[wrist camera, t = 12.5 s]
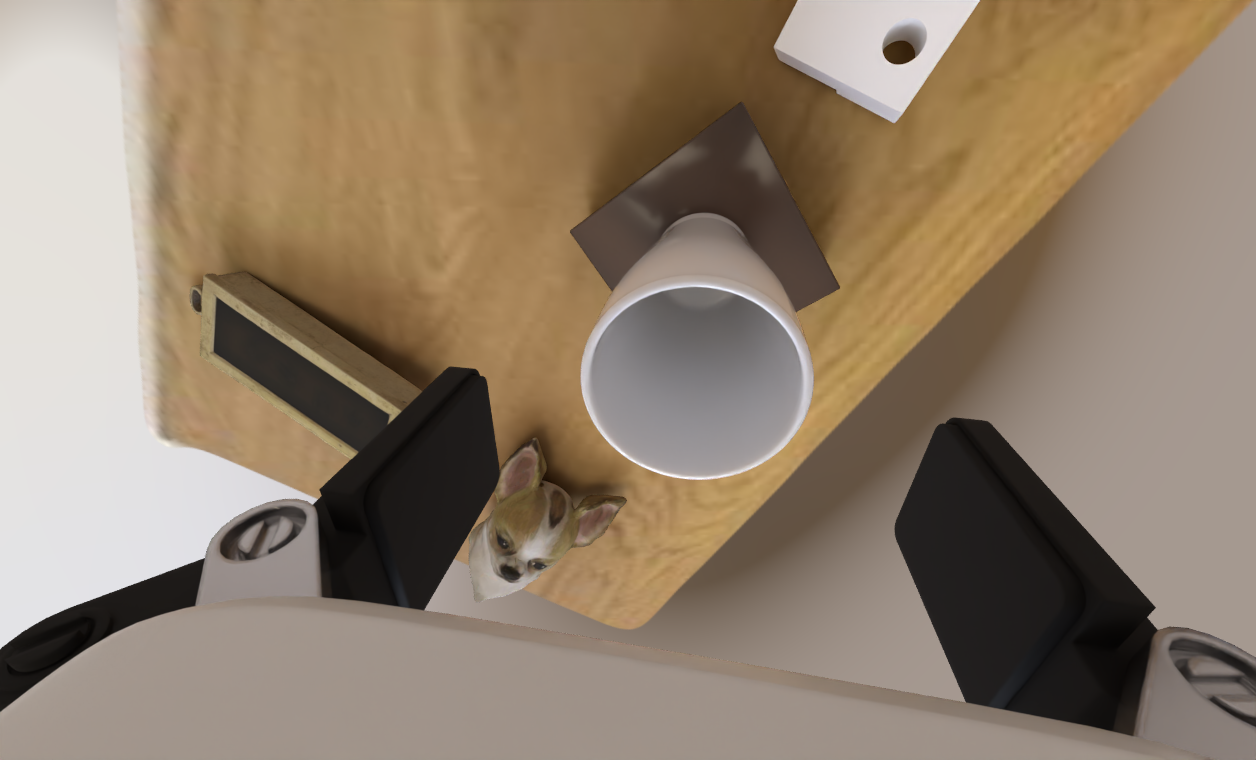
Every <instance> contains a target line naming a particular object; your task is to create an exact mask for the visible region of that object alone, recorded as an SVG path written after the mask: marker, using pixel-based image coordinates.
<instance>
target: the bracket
mask: <svg viewBox="0 0 1256 760" xmlns="http://www.w3.org/2000/svg"><path fill="white" fill-rule="evenodd" d="M979 1H980V0H798V1H797V3H796V5H795V7H794V9H793V11H792V13H791V14H790V16H789V18H788V20H787V22H786V24H785V26H784V28H783V30H782V32H781V34H780V36H779V38H778V39H777V41H776V43H775V45H774V49H775V52H776V54H777V57H778V59H779V60H780V61H782V62H784V63H786V64H787V65H789V66H791V67H793V68H795V69H797V70H799V71H801V72H803V73H805V74H807V75H809V76H811V77H813V78H814V79H816V80H818V81H820V82H822V83H824V84H826V85H828V86H830V87H832V88H834V89H836V93H837V94H839V95H841V96H843V97H845V98H847V99H848V100H850V101H852V102H854V103H856V104H858V105H860V106H862V107H864V108H866V109H868V110H870V111H872V112H873V113H875V114H877V115H879V116H881V117H883V118H885V119H887V120H889V121H891V122H893V123H895V122H896V121H897V120H898V119H899V118H900V116H901V115H902V114H903V113H904V111H905V110H906V108H907V107H908V105H909V104H910V102H911V101H912V99H913V98H914V96H915V95H916V93H917V92H918V91H919V89H920V88H921V86H922V85H923V83H924V82H925V80H926V79H927V77H928V76H929V74H930V73H931V72H932V70H933V69H934V67H935V66H936V64H937V63H938V61H939V60H940V58H941V57H942V55H943V54H944V52H945V51H946V50H947V48H948V47H949V45H950V44H951V42H952V41H953V39H954V38H955V36H956V35H957V33H958V32H959V31H960V29H961V28H962V26H963V25H964V23H965V22H966V20H967V19H968V17H969V16H970V14H971V13H972V11H973V10H974V9H975V7H976V6H977V4H978V3H979ZM895 41H907V42H909V43H910V44H911V45H912V46H913V48H914V50H915V59H913V60H912V61H910V62H908V63H905V64H901V65H896V64H892V63H890V62H888V61H887V60H886V59H885V57H884V55H883V51H882V50H883V49H884V48H885V47H886V46H887V45H889V44H890V43H892V42H895Z"/></svg>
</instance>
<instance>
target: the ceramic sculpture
mask: <svg viewBox="0 0 1256 760" xmlns="http://www.w3.org/2000/svg"><path fill="white" fill-rule="evenodd" d="M546 466H547V465H546V462H545V459H544V456H543V453H542V450H541V448H540V444H539V441H538V438H536V437H535V438H533V439H531V440H530V441H529V442H527V443H525V444H523V445H522V446H521V447H520V448H518V449H517V450H516V451H515V453H514V454H512V455H511V456H510V458H509V459H508V460H507V461H506V462H505V463H504V464H503V465H502V467H501V470H500V475H499V481H498V484H497V486H496V488H495V494H496V498H497V505H496V508H495V509H494V510H493V511H492V513H491V514H490V516H489V517H488V518H487V519H486V520H485V521H484V522H482V523H480V524H479V525H478V526H477V527H476V528H475V529H473V531H472V532H471V534H470V536H469V543H470V546H469V567H470V575H471V580H472V585H473V589H474V599H475V601H476V602H481V601H484V600H486V599H489V598H496V597H501V596H507V595H508V594H510V593H513V592H516V591H518V590H521V589H522V588H524V587H525V586H526V585H528V584H529V583H530V582H531V581H534V580H536V579H537V578H538V577H539V576H540V574H541V573H542V572H544V571H546V570H548V569H550V568H551V567H553V566H554V565H555V564H556V563H557V562H558V561H559V560H560V559H561V558H562V557H563V556H564V555H565V554H566V552H567V551H568V550H570V549H571V548H576V547H584V546H588V545H591V544H592V543H593V541H594V540H595V539H597V538H599V537H601V536H602V535H603V534H604V533H605V531H606V530H607V528H608V526H609V524H611V522H612V521H613V519H614V518H615V516H616V514H617V513H618V511H619V509H620V508H621V507H622V506H623V505H624V504H625V503H626V501H627V500H626V498H624V497H620V496H609V495H590V496H587V497H586V498H585V499H583V500H582V502H581V503H580V504H579V506H578V507H577V508H576V509H574V506H573V501H572V499H571V497H570V496H569V495H568V494H567V493H566V492H565V491H564V490H563V489H562V488H560V487H559V486H557V485H555V484H552V483H549V482H547V481H542V478H543V476H544V474H545V472H546Z"/></svg>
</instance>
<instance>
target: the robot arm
mask: <svg viewBox="0 0 1256 760" xmlns="http://www.w3.org/2000/svg"><path fill="white" fill-rule="evenodd" d="M499 475H500V470H499V462H498V455H497V448H496V442H495V435H494V428H493V421H492V414H491V407H490V400H489V393H488V386H487V381H486V379H485V377H484V376H480V374H479V372H478V371H477V370H476V369H470V368H460V367H448V368H447V369H446V370H445V371H444V372H443V373H441V374H440V375H439V376H438V377H437V378H436V379H435V380H434V381H433V382H432V383H431V384H430V385H429V386H428V387H427V388H426V389H425V390H424V391H423V392H422V393H420V394H419V395H418V396H417V397H416V398H415V399H414V400H413V401H412V402H411V403H410V404H409V405H408V406H407V407H406V408H405V409H404V410H403V411H402V412H400V413H399V414H398V415H397V416H396V417H395V418H394V419H393V420H392V421H391V422H390V423H389V424H388V425H387V426H386V427H385V428H384V429H383V430H382V431H380V432H379V433H378V434H377V435H376V436H375V437H374V438H373V439H372V440H371V441H370V442H369V443H368V444H367V445H366V446H365V447H364V448H363V449H362V450H361V451H359V452H358V453H357V454H356V455H355V456H354V457H353V458H352V459H351V460H350V461H349V462H348V463H347V464H346V465H345V466H344V467H343V468H342V469H341V470H339V471H338V472H337V473H336V474H335V475H334V476H333V477H332V478H331V479H330V480H329V481H328V482H327V483H326V484H325V485H324V486H323V487H322V488H321V489H320V492H321V495H322V496H321V497H320V498H319V499H318V500H317V501H316V502H315V503H314V504H313V505H312V504H310V503H309V502H308V501H304V500H299V499H282V500H277V501H272V502H268V503H265V504H262V505H260V506H257V507H254V508H252V509H250V510H248V511H246V512H244V513H242V514H240V515H238V516H237V517H235V518H234V519H232V520H231V521H230V522H229V523H227V524H226V525H225V526H223V527H222V528H221V529H220V530H219V531H218V532H217V533H216V534H215V536H214V537H213V538H212V539H211V541H210V544H209V546H208V548H207V551H206V556H205V558H204V559H201V560H198V561H196V562H193V563H190V564H188V565H185V566H182V567H179V568H177V569H174V570H171V571H169V572H166V573H163V574H161V575H158V576H155V577H152V578H150V579H147V580H144V581H141V582H139V583H136V584H133V585H131V586H128V587H125V588H123V589H120V590H117V591H114V592H112V593H109V594H106V595H103V596H101V597H98V598H96V599H93V600H90V601H87V602H84V603H82V604H79V605H76V606H74V607H71V608H68V609H66V610H64V611H61V612H59V613H57V614H55V615H52V616H50V617H48V618H46V619H44V620H42V621H41V622H39V623H37V624H35V625H33V626H32V627H30V628H29V629H27V630H25V631H23V632H22V633H21V634H20V635H18V636H17V637H15V638H14V639H13V640H11V641H10V642H9V643H7V644H6V645H5V646H4V647H2V648H1V649H0V760H1256V657H1254V656H1252V655H1250V654H1248V653H1247V652H1245V651H1243V650H1242V649H1240V648H1238V647H1236V646H1235V645H1232V644H1230V643H1228V642H1226V641H1223V640H1221V639H1219V638H1217V637H1214V636H1212V635H1210V634H1206V633H1203V632H1199V631H1196V630H1193V629H1189V628H1181V627H1167V628H1163V629H1160V630H1157V629H1156V627H1154V625H1153V624H1152V623H1151V622H1150V620H1149V619H1148V618H1147V617H1148V616H1149V614H1150V613H1151V612H1152V611H1153V610H1154V609H1155V608H1156V607H1155V606H1154V605H1153V604H1152V603H1151V602H1150V601H1149V600H1148V598H1147V597H1146V596H1145V595H1144V594H1143V593H1142V592H1141V591H1140V589H1139V588H1138V587H1137V586H1136V585H1135V584H1134V583H1133V582H1132V581H1131V580H1130V578H1129V577H1128V576H1127V575H1126V574H1125V573H1124V572H1123V571H1122V570H1121V569H1120V567H1119V566H1118V565H1117V564H1116V563H1115V562H1114V560H1112V558H1111V557H1110V556H1109V555H1108V554H1107V553H1106V552H1105V551H1104V549H1103V548H1102V547H1101V546H1100V545H1099V544H1098V543H1097V542H1096V540H1095V539H1094V538H1093V537H1092V536H1091V535H1090V534H1089V533H1088V531H1087V530H1086V529H1085V528H1084V527H1083V526H1082V525H1081V524H1080V523H1079V522H1078V521H1077V519H1076V518H1075V517H1074V516H1073V515H1072V514H1071V513H1070V511H1069V510H1068V509H1067V508H1066V507H1065V506H1064V505H1063V504H1062V502H1061V501H1060V500H1059V499H1058V498H1057V497H1056V496H1055V495H1054V494H1053V493H1052V491H1051V490H1050V489H1049V488H1048V487H1047V486H1046V485H1045V484H1044V482H1043V481H1042V480H1041V479H1040V478H1039V477H1038V476H1037V475H1036V474H1035V472H1034V471H1033V470H1032V469H1031V468H1030V467H1029V466H1028V465H1027V463H1026V462H1025V461H1024V460H1023V459H1022V458H1021V457H1020V456H1019V455H1018V454H1017V453H1016V451H1015V450H1014V449H1013V448H1012V447H1011V446H1010V445H1009V443H1008V442H1007V441H1006V440H1005V439H1004V438H1003V437H1002V436H1001V434H1000V433H999V432H998V431H997V430H996V429H995V428H994V427H993V426H992V425H991V424H990V423H989V422H988V421H982V420H974V419H964V418H951V419H949V420H948V421H947V422H946V424H940V425H938V426H937V427H936V429H935V431H934V433H933V436H932V438H931V440H930V443H929V445H928V448H927V450H926V452H925V454H924V457H923V459H922V461H921V464H920V466H919V469H918V471H917V473H916V475H915V478H914V480H913V482H912V485H911V487H910V489H909V492H908V494H907V497H906V499H905V501H904V503H903V506H902V508H901V510H900V513H899V515H898V517H897V520H896V523H895V537H896V540H897V543H898V545H899V547H900V550H901V552H902V554H903V557H904V559H905V561H906V563H907V566H908V568H909V571H910V573H911V575H912V578H913V580H914V582H915V585H916V587H917V589H918V592H919V594H920V596H921V599H922V601H923V603H924V606H925V608H926V610H927V613H928V615H929V617H930V619H931V622H932V624H933V627H934V629H935V631H936V634H937V636H938V638H939V641H940V643H941V645H942V648H943V650H944V652H945V655H946V657H947V659H948V662H949V664H950V666H951V669H952V671H953V673H954V675H955V678H956V680H957V683H958V685H959V687H960V689H961V692H962V694H963V697H964V699H965V701H966V703H965V702H960V701H953V700H948V699H942V698H937V697H931V696H925V695H920V694H914V693H909V692H902V691H897V690H892V689H886V688H880V687H875V686H869V685H863V684H858V683H852V682H846V681H840V680H835V679H829V678H824V677H818V676H812V675H806V674H801V673H795V672H790V671H784V670H778V669H772V668H766V667H760V666H755V665H749V664H743V663H737V662H731V661H725V660H720V659H714V658H708V657H702V656H696V655H691V654H684V653H678V652H672V651H667V650H661V649H655V648H649V647H644V646H638V645H632V644H626V643H620V642H614V641H608V640H602V639H597V638H591V637H584V636H578V635H572V634H566V633H560V632H554V631H548V630H542V629H536V628H530V627H524V626H518V625H512V624H506V623H500V622H493V621H488V620H482V619H475V618H470V617H463V616H457V615H451V614H445V613H438V612H431V611H424V609H425V608H426V606H427V604H428V603H429V601H430V599H431V597H432V596H433V594H434V592H435V591H436V589H437V587H438V585H439V584H440V582H441V580H442V579H443V577H444V575H445V574H446V572H447V570H448V568H449V567H450V565H451V563H452V562H453V560H454V558H455V556H456V555H457V553H458V551H459V550H460V548H461V546H462V544H463V543H464V541H465V539H466V538H467V536H468V534H469V532H470V531H471V529H472V527H473V526H474V524H475V522H476V520H477V519H478V517H479V515H480V514H481V512H482V510H483V508H484V507H485V505H486V503H487V502H488V500H489V498H490V497H491V495H492V493H493V491H494V490H495V488H496V486H497V484H498V481H499Z"/></svg>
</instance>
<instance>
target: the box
mask: <svg viewBox="0 0 1256 760" xmlns="http://www.w3.org/2000/svg"><path fill="white" fill-rule="evenodd" d="M201 296H202V306H201ZM190 304H191V307H192V309H193V311H194V312H195V313H196V314H199V315H201V341H200V356H201V357H202V358H204V359H205V360H207V361H208V362H209V363H211V364H212V365H214V366H215V367H217V368H218V369H220V370H221V371H223V372H224V373H226V374H227V375H229V376H230V377H232V378H233V379H235V380H236V381H237V382H239V383H240V384H242V385H243V386H245V387H246V388H248V389H249V390H251V391H252V392H254V393H255V394H257V395H258V396H260V397H261V398H263V399H264V400H265V401H267V402H268V403H270V404H271V405H273V406H274V407H276V408H277V409H279V410H280V411H282V412H283V413H285V414H286V415H287V416H289V417H290V418H292V419H293V420H294V421H296V422H297V423H299V424H300V425H302V426H303V427H305V428H306V429H307V430H309V431H310V432H312V433H313V434H314V435H316V436H317V437H319V438H320V439H322V440H323V441H325V442H326V443H327V444H329V445H330V446H332V447H333V448H335V449H336V450H338V451H339V452H341V453H342V454H344V455H345V456H347V457H348V458H350V459H352V458H353V457H354V456H355V455H356V454H357V453H358V452H359V451H361V450H362V449H363V448H364V447H365V446H366V445H367V444H368V443H369V442H370V441H371V440H372V439H373V438H374V437H375V436H376V435H377V434H378V433H379V432H380V431H382V430H383V429H384V428H385V427H386V426H387V425H388V424H389V423H390V422H391V421H392V420H393V419H394V418H395V417H396V416H397V415H398V414H399V413H400V412H402V411H403V410H404V409H405V408H406V407H407V406H408V405H409V404H410V403H411V402H412V401H413V400H414V399H415V398H416V397H417V396H418V395H419V394H420V393H422V392H423V391H421V390H420V389H419V388H417V387H416V386H414V385H413V384H411V383H410V382H408V381H407V380H405V379H404V378H403V377H401V376H400V375H398V374H397V373H395V372H394V371H392V370H391V369H390V368H388V367H386V366H384V365H383V364H381V363H380V362H378V361H377V360H376V359H374V358H373V357H372V356H370V355H369V354H367V353H365V352H364V351H362V350H360V349H359V348H358V347H356V346H355V345H353V344H352V343H350V342H349V341H347V340H346V339H344V338H343V337H341V336H340V335H339V334H337V333H336V332H334V331H333V330H331V329H330V328H328V327H327V326H325V325H324V324H322V323H321V322H320V321H318V320H317V319H315V318H314V317H312V316H311V315H309V314H308V313H306V312H305V311H303V310H302V309H300V308H299V307H297V306H296V305H294V304H293V303H292V302H290V301H289V300H287V299H286V298H284V297H283V296H281V295H280V294H278V293H276V292H275V291H273V290H272V289H270V288H269V287H267V286H266V285H264V284H263V283H262V282H260V281H259V280H257V279H256V278H254V277H253V276H251V275H250V274H248V273H246V272H238V273H232V274H225V275H218V276H217V275H216V274H206V275H204V276H203V286H202V285H196V286H192V288H191V290H190Z"/></svg>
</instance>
